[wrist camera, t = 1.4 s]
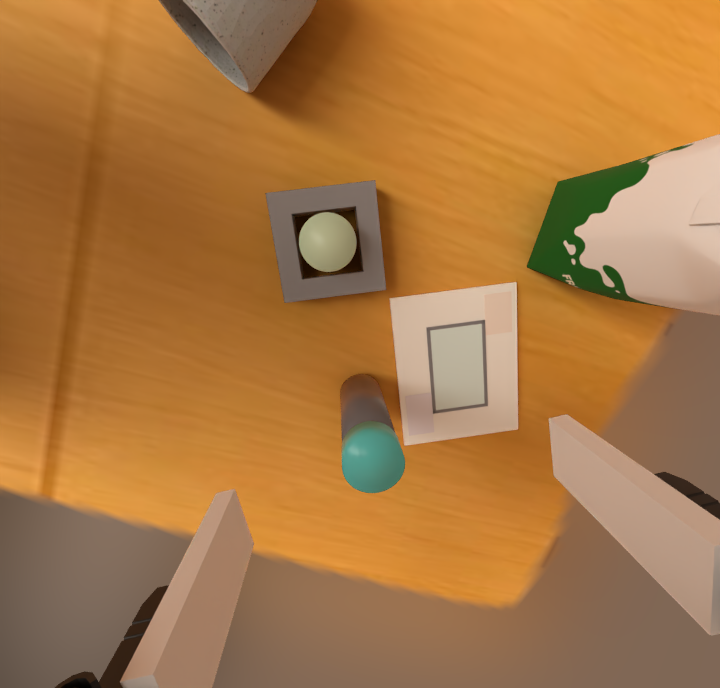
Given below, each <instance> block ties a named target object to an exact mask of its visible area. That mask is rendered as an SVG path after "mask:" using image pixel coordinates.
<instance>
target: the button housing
mask: <svg viewBox="0 0 720 688" xmlns="http://www.w3.org/2000/svg"><path fill="white" fill-rule="evenodd" d="M266 199H267V204H268V210H269V216H270V222H271V228H272V233H273V239H274V245H275V251H276V256H277V262H278V268H279V274H280V279H281V285H282V291H283V297H284V302H285V303H288V302H295V301H303V300H311V299H319V298H327V297H334V296H342V295H350V294H358V293H366V292H373V291H381V290H386V282H385V272H384V262H383V253H382V243H381V233H380V223H379V213H378V203H377V193H376V183H375V180H373V181H365V182H356V183H348V184H339V185H331V186H322V187H314V188H305V189H297V190H288V191H280V192H271V193H266ZM350 210H355V219H356V228H357V236H358V245H359V253H360V262H361V271H353V272H345V273H337V274H329V275H321V276H313V277H306V278H304V272H303V265H302V259H301V253H300V247H299V240H298V233H297V227H296V221H295V217H300V216H309V215H316V214H319V213H323V212H331V213H334V212H342V211H350Z"/></svg>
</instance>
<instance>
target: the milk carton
mask: <svg viewBox="0 0 720 688" xmlns="http://www.w3.org/2000/svg"><path fill="white" fill-rule="evenodd" d="M527 267H528V268H530V269H533V270H535V271H538V272H540V273H543V274H545V275H547V276H550V277H552V278H555V279H557V280H560V281H562V282H565V283H567V284H569V285H572V286H574V287H577V288H580V289H583V290H586V291H590V292H593V293H596V294H600V295H603V296H607V297H610V298H614V299H619V300H624V301H630V302H637V303H643V304H649V305H655V306H662V307H668V308H674V309H681V310H687V311H694V312H700V313H706V314H712V315H719V316H720V134H718V135H715V136H712V137H709V138H706V139H703V140H699V141H696V142H693V143H690V144H687V145H683V146H680V147H677V148H674V149H671V150H668V151H664V152H661V153H658V154H655V155H652V156H648V157H645V158H642V159H639V160H636V161H632V162H629V163H626V164H623V165H619V166H615V167H612V168H608V169H604V170H600V171H596V172H593V173H589V174H585V175H582V176H578V177H574V178H570V179H567V180H563V181H559V182H558V183H557V186H556V188H555V191H554V194H553V197H552V199H551V202H550V205H549V207H548V210H547V213H546V216H545V218H544V221H543V224H542V227H541V229H540V232H539V235H538V237H537V240H536V243H535V246H534V248H533V251H532V254H531V257H530V259H529V262H528V265H527Z"/></svg>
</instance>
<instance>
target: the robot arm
mask: <svg viewBox="0 0 720 688" xmlns="http://www.w3.org/2000/svg"><path fill="white" fill-rule="evenodd" d="M549 428H550V439H551V451H552V462H553V474H554V477H555V478H556V479H557V480H558V481H559V482H560V483H561V484H562V485H563V486H564V487H565V488H566V489H567V490H568V491H569V492H570V493H571V494H572V495H573V496H574V497H575V498H576V499H577V500H578V501H579V502H580V503H581V504H582V505H583V506H584V507H585V508H586V509H587V510H588V511H589V512H590V513H591V514H592V515H593V516H594V518H595V519H597V521H598V522H599V523H600V524H601V525H603V526H604V528H605V529H606V530H607V531H608V532H609V533H610V534H611V535H612V536H613V537H614V538H615V539H616V540H617V541H618V542H619V543H620V544H621V545H622V546H623V547H624V548H625V549H626V550H627V551H628V552H629V553H630V554H631V555H632V556H633V557H634V558H635V559H636V560H637V561H638V562H639V563H640V564H641V565H642V566H643V567H644V568H645V569H646V571H648V573H649V574H651V576H652V577H653V578H654V579H655V580H656V581H657V582H658V583H659V584H660V585H661V586H662V587H663V588H664V589H665V590H666V591H667V592H668V593H669V594H670V595H671V596H672V597H673V598H674V599H675V600H676V601H677V602H678V603H679V604H680V605H681V606H682V607H683V608H684V609H685V610H686V611H687V612H688V613H689V614H690V615H691V616H692V617H693V618H694V619H695V620H696V621H697V623H698V624H700V626H701V627H702V628H703V629H705V631H706V632H707V633H708V634H709V635H710V636H711V635H715V634H720V503H719V502H718V500H716V499H714V498H713V497H711V496H710V495H708V494H705V493H704V492H703V491H702V490H700V489H699V488H697V487H696V486H694V485H693V484H691V483H690V482H688V481H686V480H684V479H682V478H679V477H676V476H674V475H672V474H669V473H666V472H662V473H658V474H653V473H651V472H650V471H648V470H647V469H645V468H644V467H642V466H641V465H640V464H638V463H637V462H635V461H634V460H632V459H631V458H629V457H628V456H627V455H625V454H624V453H622V452H620V451H619V450H618V449H616V448H615V447H614V446H612V445H611V444H609V443H608V442H606V441H605V440H603V439H602V438H601V437H599V436H598V435H596V434H595V433H593V432H592V431H590V430H589V429H587V428H586V427H585V426H583V425H582V424H580V423H579V422H577V421H576V420H574V419H573V418H572V417H570V416H569V415H567V414H566V415H561V416H557V417H552V418H549ZM253 545H254V542H253V540H252V537H251V534H250V531H249V528H248V525H247V522H246V520H245V517H244V514H243V511H242V508H241V505H240V502H239V499H238V497H237V494H236V491H235V489H232V490H228V491H223V492H219V493H216V495H215V497H214V499H213V501H212V503H211V505H210V507H209V508H208V510H207V512H206V514H205V516H204V518H203V520H202V522H201V524H200V526H199V528H198V530H197V532H196V534H195V536H194V538H193V540H192V542H191V544H190V546H189V548H188V550H187V551H186V554H185V555H184V557H183V560H182V561H181V563H180V565H179V567H178V569H177V571H176V573H175V575H174V577H173V579H172V581H171V583H170V585H168V586H163V587H159V588H157V589H156V590H155V591H154V592H153V593H152V594H151V595H150V597H149V598H148V599H147V600H146V601H145V602H144V603H143V604H142V606H141V608H140V610H139V612H138V613H137V615H136V617H135V619H134V621H133V622H132V626H130V627H129V629H128V631H127V633H126V635H125V636H124V641H122V642H121V643H120V645H119V647H118V649H117V651H116V653H115V654H114V656H113V658H112V660H111V661H110V663H109V665H108V667H107V669H106V670H105V672H104V674H103V676H102V677H101V679H100V681H99V682H98V680H97V679H96V677H95V676H94V674H93V673H91V672H82V673H79V674H76V675H73V676H71V677H69V678H68V679H66V680H65V681H63V682H61V683H60V684H58V685H57V686H56V687H55V688H212V686H213V683H214V679H215V676H216V672H217V669H218V665H219V662H220V658H221V655H222V652H223V648H224V645H225V641H226V638H227V635H228V631H229V628H230V624H231V621H232V617H233V614H234V610H235V607H236V604H237V600H238V597H239V593H240V590H241V586H242V583H243V579H244V576H245V573H246V569H247V566H248V562H249V559H250V556H251V552H252V549H253Z"/></svg>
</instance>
